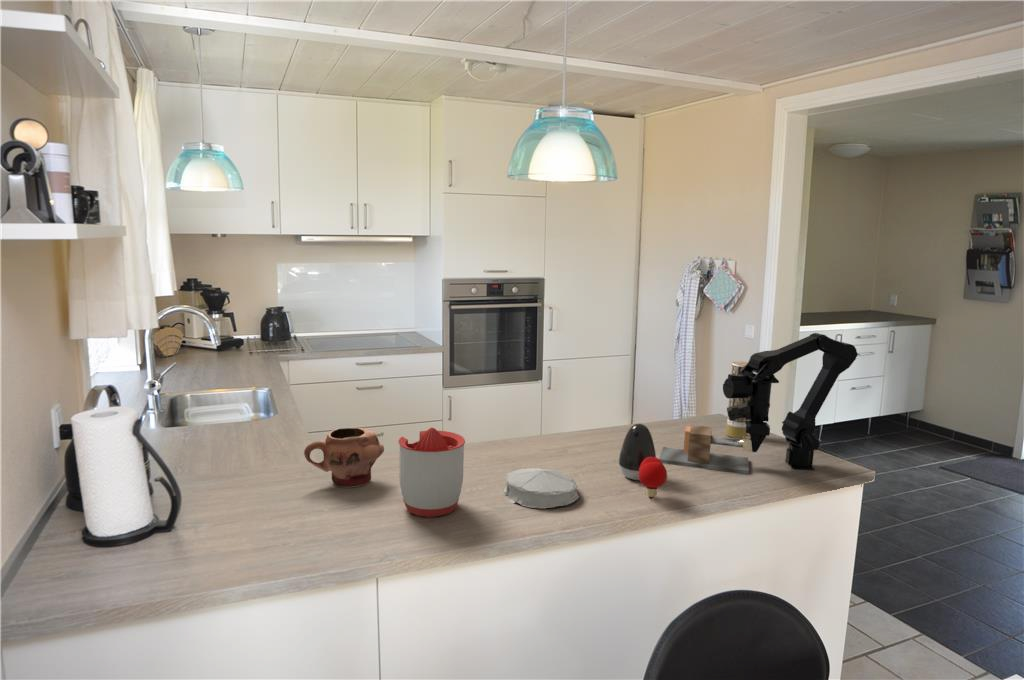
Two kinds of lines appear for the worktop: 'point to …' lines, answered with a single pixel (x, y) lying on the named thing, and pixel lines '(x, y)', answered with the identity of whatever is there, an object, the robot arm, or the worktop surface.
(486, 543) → the worktop surface
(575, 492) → the food container
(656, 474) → the light bulb
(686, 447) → the spacer collar
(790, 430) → the robot arm
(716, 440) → the shaft
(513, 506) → the worktop surface
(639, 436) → the black rounded cone
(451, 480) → the citrus juicer
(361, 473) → the brown sculpted mug
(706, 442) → the bearing block
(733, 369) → the patterned tall cylinder
